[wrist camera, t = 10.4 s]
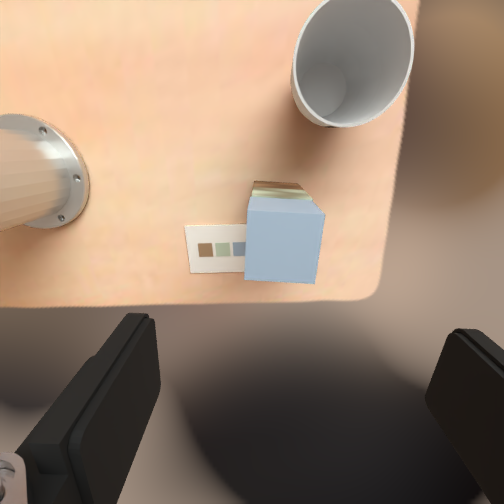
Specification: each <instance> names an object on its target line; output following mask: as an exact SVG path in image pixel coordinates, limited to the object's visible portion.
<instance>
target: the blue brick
mask: <svg viewBox="0 0 504 504" xmlns="http://www.w3.org/2000/svg"><path fill="white" fill-rule="evenodd" d="M324 220H325V214H324V213H323V212H322V211H321V210H320V209H319V208H318V206H317V205H316V204H315V203H314V202H313V201H312V200H297V199H280V198H262V197H250V200H249V205H248V209H247V228H246V250H245V272H244V280H256V281H273V282H290V283H306V284H315V279H316V272H317V266H318V259H319V253H320V246H321V239H322V233H323V226H324Z"/></svg>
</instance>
